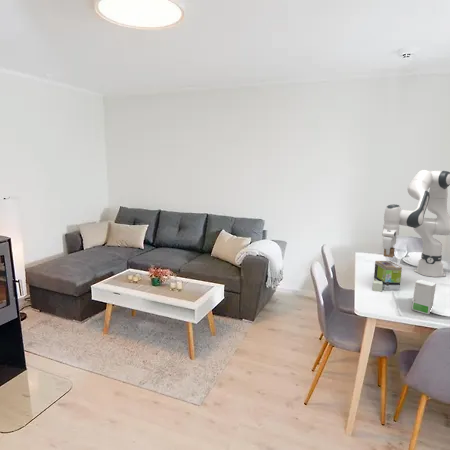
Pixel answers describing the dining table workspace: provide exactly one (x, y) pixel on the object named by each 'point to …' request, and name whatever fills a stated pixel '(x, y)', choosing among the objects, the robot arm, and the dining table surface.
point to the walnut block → (390, 252)
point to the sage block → (377, 286)
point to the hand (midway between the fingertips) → (389, 253)
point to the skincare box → (423, 296)
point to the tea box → (388, 274)
